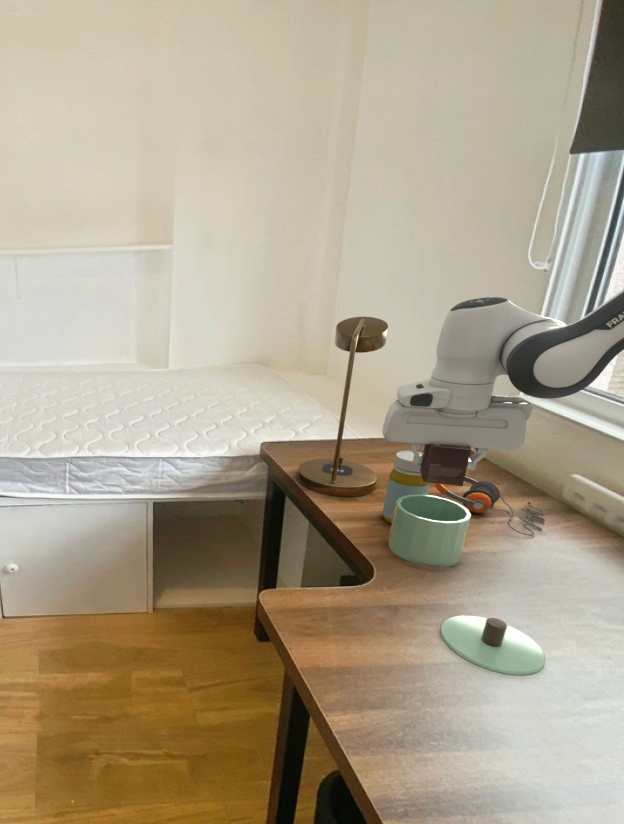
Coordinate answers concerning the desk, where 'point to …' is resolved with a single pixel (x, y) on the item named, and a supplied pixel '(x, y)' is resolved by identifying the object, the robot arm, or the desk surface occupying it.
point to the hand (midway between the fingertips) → (442, 466)
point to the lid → (493, 645)
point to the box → (445, 464)
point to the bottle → (403, 482)
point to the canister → (428, 530)
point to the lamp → (337, 472)
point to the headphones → (487, 500)
